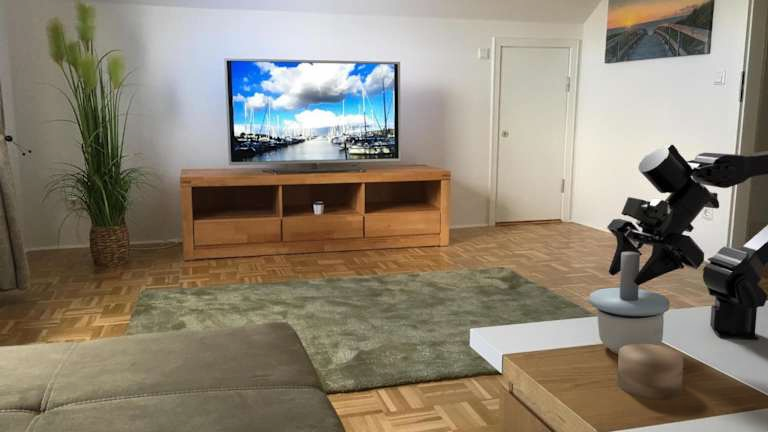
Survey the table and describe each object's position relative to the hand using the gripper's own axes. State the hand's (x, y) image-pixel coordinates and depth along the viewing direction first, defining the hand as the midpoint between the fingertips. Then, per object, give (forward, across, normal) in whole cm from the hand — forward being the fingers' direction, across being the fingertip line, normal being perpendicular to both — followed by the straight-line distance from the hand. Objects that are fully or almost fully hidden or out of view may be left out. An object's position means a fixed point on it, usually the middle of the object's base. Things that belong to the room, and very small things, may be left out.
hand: (622, 278), depth 110 cm
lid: (+2, 0, +4) cm, 5 cm away
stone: (+13, +14, +5) cm, 20 cm away
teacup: (+8, 0, +10) cm, 13 cm away
